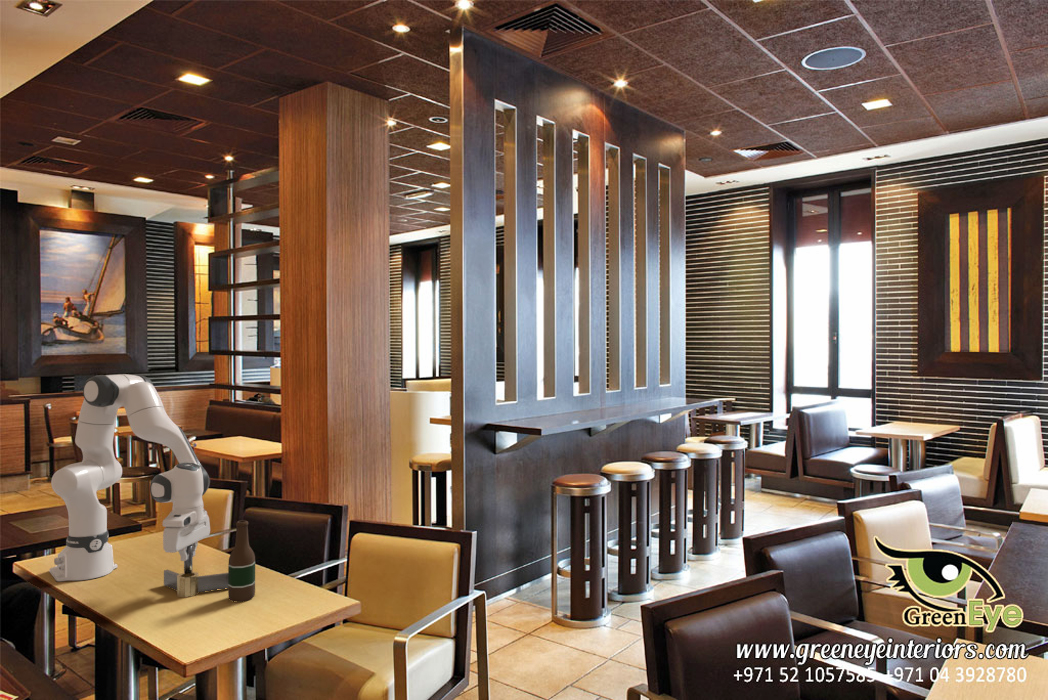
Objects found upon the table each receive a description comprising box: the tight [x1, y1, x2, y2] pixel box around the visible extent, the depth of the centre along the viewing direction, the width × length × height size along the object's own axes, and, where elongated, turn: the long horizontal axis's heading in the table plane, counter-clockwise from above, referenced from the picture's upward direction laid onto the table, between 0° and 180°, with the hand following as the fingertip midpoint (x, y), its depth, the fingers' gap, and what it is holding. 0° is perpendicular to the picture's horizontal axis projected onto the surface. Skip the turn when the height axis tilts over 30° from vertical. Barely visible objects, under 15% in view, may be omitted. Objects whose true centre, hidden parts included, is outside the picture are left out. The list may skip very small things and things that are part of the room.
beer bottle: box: [227, 519, 256, 603], centre depth 214 cm, size 8×8×24 cm
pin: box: [183, 544, 193, 574], centre depth 218 cm, size 2×2×9 cm
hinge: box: [163, 569, 228, 598], centre depth 223 cm, size 21×15×6 cm
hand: (188, 558), depth 218 cm, fingers closed on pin, 2 cm apart
